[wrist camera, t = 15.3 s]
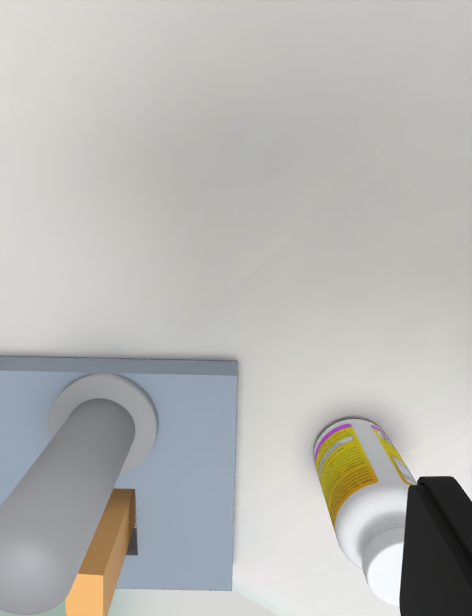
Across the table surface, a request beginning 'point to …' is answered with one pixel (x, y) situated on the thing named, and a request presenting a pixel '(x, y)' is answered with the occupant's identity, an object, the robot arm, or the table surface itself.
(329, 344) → the table surface
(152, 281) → the table surface
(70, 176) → the table surface
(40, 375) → the grey base with post
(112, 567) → the orange rectangular block
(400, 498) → the supplement bottle
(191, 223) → the table surface
